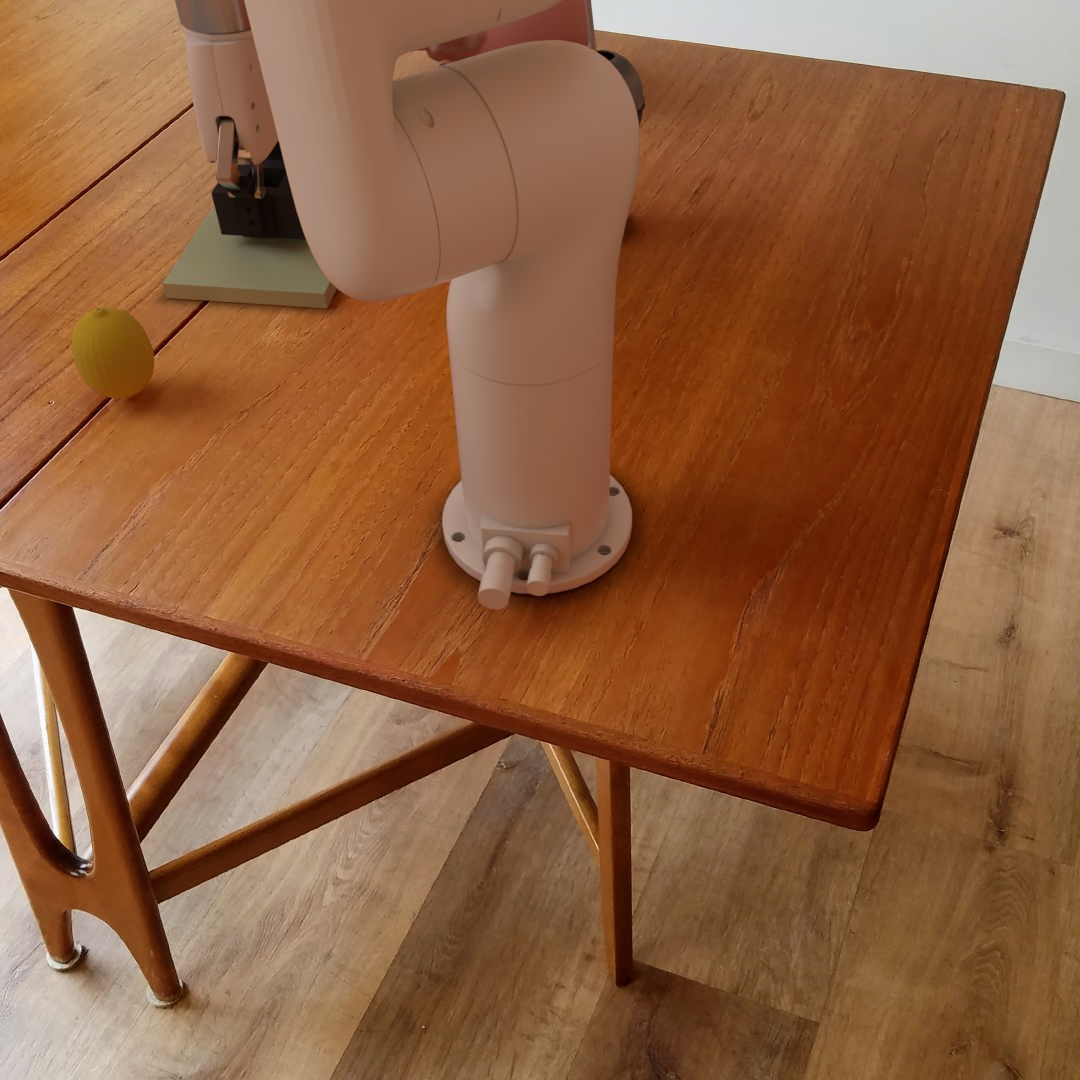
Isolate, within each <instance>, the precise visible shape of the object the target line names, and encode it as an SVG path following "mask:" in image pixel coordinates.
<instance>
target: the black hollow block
mask: <svg viewBox="0 0 1080 1080" xmlns="http://www.w3.org/2000/svg"><path fill="white" fill-rule="evenodd" d="M263 168H264V184H265V193H270V195H271V200H272V205H273V210H274V214H275V219H276V224H277V229H278V235H277V236H276V238H286V239H303V240H306V238H305V235H304V232H303V229H302V226H301V223H300V220H299V217H298V214H297V210H296V207H295V203H294V199H293V195H292V192H291V188H290V184H289V180H288V176H287V172H286V168H285V164H284V160H267V159H265V160H264V161H263ZM238 171H239V172H240V173H241V175H242V176H247V177H248V178H250V179H251V180H252V181H253V175H252V166H238ZM210 193H211V198H212V202H213V206H215V210H216V214H217V218H218V222H219V226H220V230H221V234H222V235H236V236H242V235H241V234H240V230H239V226H238V222H237V218H236V214H235V209H234V205H233V201H232V198H231V197H229V195H228V191H227V190H226V189H225V187H224V186H222V185H221V184H219V183H218V182H217V183H216V184H215V186H214V188H213V189H212V190H211V192H210Z"/></svg>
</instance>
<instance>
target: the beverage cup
mask: <svg viewBox="0 0 1080 1080" xmlns="http://www.w3.org/2000/svg"><path fill="white" fill-rule="evenodd" d="M585 9H586V18H587V27H588V37H589V45H588V47H589V48H590V49H592V50H595V51H596V52H597V53H599V54H600V55H602V56H603V57H605V58H606V59H607V60H608V61H610V62H611V63H612V65H613V66H614V67H615V68H616V69H617V70H618V72H619V73H620V74H621V76H622V77H623V79H624V81H625V82H626V84H627V86H628V88H629V90H630V93H631V95H632V97H633V101H634V104H635V107H636V111H637V115H638V122H639V129H640V127H641V123H642V119H643V112H644V109H645V108H646V99H645V96H644V89H643V82H642V80H641V76H640V75H639V73H638V71H637V69H636V68H635V67H634V65H633V64H632V63H631V62H630V60H629V59H628V58H626V57H625V56H623V55H622V54H620V53H618V52H616V51H613V50H607V49H597V43H596V34H595V25H594V24H595V23H594V17H593V16H594V13H593V7H592V0H585Z"/></svg>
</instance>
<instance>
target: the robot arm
mask: <svg viewBox="0 0 1080 1080" xmlns="http://www.w3.org/2000/svg"><path fill="white" fill-rule="evenodd" d="M561 1H563V0H174V3H175V4H174V5H175V7H176V13H177V16H178V20H179V24H180V29H181V30H182V32H183V33H184V34H185V35H187V36H186V38H185V52H186V63H187V72H188V79H189V86H190V92H191V98H192V104H193V110H194V115H195V119H196V126H197V130H198V135H199V141H200V143H201V148H202V153H203V156H204V157H205V160H206V162H208V163H211V164H215V163H216V168H215V180H216V182H217V183H219V184H221V185H222V186H224V187H225V189H226V190H227V191H228V195H229V197H231V198H232V201H233V205H234V209H235V214H236V218H237V222H238V226H239V230H240V234H241V235H242V236H243V237H252V238H269V239H274V238H276V236H277V235H278V229H277V224H276V219H275V214H274V210H273V205H272V200H271V195H270V193H265V184H264V168H263V161H264V160H265V159H267V160H284V164H285V168H286V172H287V176H288V180H289V184H290V188H291V192H292V195H293V199H294V203H295V207H296V210H297V214H298V217H299V220H300V223H301V226H302V229H303V232H304V235H305V238H306V240H307V242H308V245H309V247H310V249H311V252H312V254H313V256H314V258H315V260H316V262H317V264H318V265H319V267H320V269H321V270H322V272H323V273H324V275H325V276H326V277H327V279H328V280H329V281H330V282H331V283H332V284H333V285H334V286H335V287H336V288H337V289H336V290H338V291H339V292H340V293H343V294H344V295H346V296H347V297H349V298H351V299H353V300H357V301H361V302H369V303H377V302H387V301H392V300H397V299H400V298H403V297H407V296H410V295H413V294H415V293H418V292H421V291H425V290H428V289H431V288H433V287H436V286H439V285H441V284H444V283H447V282H450V283H449V287H448V291H447V292H448V293H447V300H446V308H445V309H446V310H445V312H446V313H445V316H446V318H445V319H446V334H447V347H448V348H447V349H448V356H449V357H448V358H449V368H450V377H451V386H452V387H451V388H452V397H453V398H452V399H453V407H454V417H455V418H454V419H455V427H456V428H455V429H456V438H457V447H458V457H459V468H460V477H461V480H460V481H459V482H458V483H457V484H456V485H455V486H454V487H453V489H452V490H451V492H450V494H449V495H448V496H447V498H446V501H445V503H444V504H445V505H444V507H443V511H442V534H443V539H444V543H445V545H446V548H447V550H448V553H449V554H450V556H451V558H452V559H453V560H454V561H455V563H456V564H457V565H458V566H459V567H460V568H461V569H462V570H463V571H464V572H465V573H466V574H467V575H469V576H471V577H472V578H474V579H476V580H477V581H479V582H480V583H479V588H478V591H477V601H478V602H479V604H480V605H481V606H482V607H484V608H486V609H489V610H494V611H499V610H503V609H505V608H506V607H507V606H508V605H509V603H510V599H511V593H515V594H523V595H524V594H525V595H532V596H534V597H535V596H536V597H543V596H545V595H547V594H557V593H561V592H565V591H570V590H573V589H576V588H579V587H581V586H583V585H586V584H589V583H591V582H593V581H594V580H597V579H598V578H599V577H601V576H602V575H604V574H606V573H607V572H608V571H609V570H610V569H611V568H612V567H614V566H615V565H616V564H617V563H618V561H619V560H620V559H621V557H622V556H623V555H624V553H625V552H626V551H627V548H628V545H629V542H630V541H631V535H632V528H633V509H632V505H631V502H630V498H629V496H628V495H627V493H626V491H625V490H624V488H623V486H622V485H621V484H620V483H619V481H617V479H616V478H615V477H614V476H613V475H611V447H612V446H611V445H612V444H611V443H612V442H611V441H612V407H613V406H612V405H613V400H612V399H613V370H614V341H615V320H616V318H615V317H616V295H617V279H618V272H619V271H618V270H619V260H620V255H621V249H622V243H623V238H624V234H625V230H626V229H625V228H626V225H627V221H628V218H629V214H630V210H631V206H632V202H633V198H634V193H635V189H636V186H637V185H636V184H637V181H638V180H637V179H638V175H639V168H640V167H639V166H640V155H641V130H640V128H639V122H638V115H637V111H636V107H635V104H634V101H633V97H632V95H631V93H630V90H629V88H628V86H627V84H626V82H625V81H624V79H623V77H622V76H621V74H620V73H619V72H618V70H617V69H616V68H615V67H614V66H613V65H612V63H611V62H610V61H608V60H607V59H606V58H605V57H603V56H602V55H600V54H599V53H597V52H596V51H595V50H592V49H590V47H589V46H588V47H586V46H584V45H581V44H578V43H573V42H568V41H562V40H544V41H531V42H526V43H521V44H516V45H511V46H507V47H503V48H500V49H496V50H493V51H489V52H486V53H483V54H479V55H476V56H473V57H469V58H466V59H462V60H459V61H456V62H452V63H449V64H443V65H439V66H436V67H434V68H431V69H429V70H425V71H423V72H419V73H415V74H412V75H408V76H405V77H401V78H397V79H395V80H394V74H395V66H396V63H397V61H398V59H399V58H400V57H402V56H403V55H406V54H409V53H411V52H412V53H413V52H417V51H419V50H420V49H423V48H427V47H430V46H434V45H437V44H440V43H444V42H447V41H451V40H454V39H458V38H461V37H465V36H468V35H471V34H475V33H478V32H482V31H485V30H488V29H492V28H495V27H498V26H502V25H505V24H508V23H511V22H514V21H517V20H520V19H523V18H526V17H529V16H532V15H534V14H537V13H539V12H542V11H544V10H547V9H549V8H551V7H553V6H555V5H556V4H558V3H559V2H561ZM416 50H417V51H416ZM239 151H244V152H246V153H249V155H250V156H240V155H239ZM238 166H252V175H253V181H252V180H251V179H250V178H248V177H247V176H242V175H241V173H240V172H239V171H238Z"/></svg>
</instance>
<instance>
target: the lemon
mask: <svg viewBox="0 0 1080 1080" xmlns="http://www.w3.org/2000/svg"><path fill="white" fill-rule="evenodd" d="M71 350H72V357H73V362H74V364H75V367H76V369H77V371H78V373H79V375H80V377H81V378H82V380H83V382H84V383H85V385H87V386H88V387H89V388H90V389H91V390H93V391H94V392H95V393H97V394H99V395H101V396H104V397H106V398H110V399H116V400H117V399H126V400H127V399H128V400H129V399H131V398H133V397H134V396H135V395H137V394H139V393H140V392H142V391H143V390H144V389H145V388H146V387H147V385H149V383H150V381H151V380H152V377H153V375H154V371H155V352H154V349H153V345H152V343H151V340H150V338H149V336H148V334H147V332H146V330H145V329H144V327H143V325H142V324H141V323H140V322H139V321H138V320H137V319H136V318H135V316H133V315H132V314H130V313H129V312H127V311H125V310H123V309H120V308H116V307H110V306H109V307H108V306H102V307H101V306H97V307H95V308H93V309H91V310H89V311H87V312H86V313H85V314H83V315H82V316H81V317H80V318H79V320H78V321H77V322H76V323H75V325H74V327H73V332H72V334H71Z"/></svg>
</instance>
